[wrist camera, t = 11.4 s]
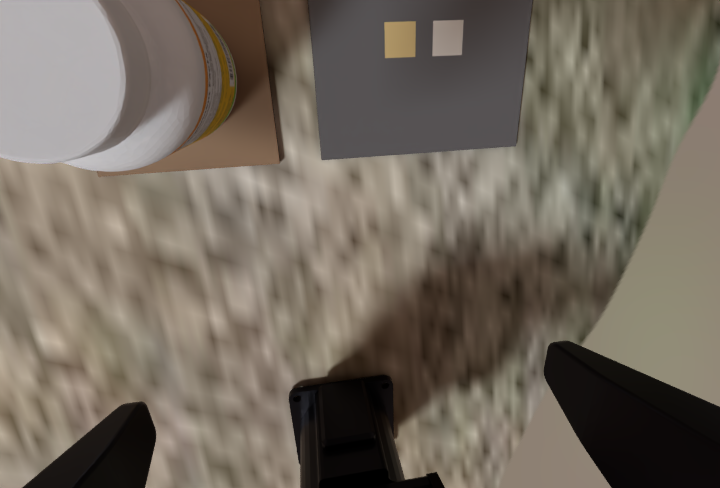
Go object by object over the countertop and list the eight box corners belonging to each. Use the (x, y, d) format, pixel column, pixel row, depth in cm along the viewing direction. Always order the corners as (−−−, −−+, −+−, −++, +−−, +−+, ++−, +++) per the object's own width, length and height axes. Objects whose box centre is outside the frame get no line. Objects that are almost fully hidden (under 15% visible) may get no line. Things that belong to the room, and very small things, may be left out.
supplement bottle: (81, 98, 15) (-219, 107, 6) (128, -33, 14) (-166, -249, 5) (207, 164, 17) (110, 243, 8) (261, 53, 16) (213, 5, 7)
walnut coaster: (280, 162, 18) (279, 163, 18) (101, 175, 17) (98, 176, 17) (254, -40, 15) (253, -43, 14) (33, -39, 14) (28, -42, 13)
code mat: (513, 145, 19) (515, 145, 19) (321, 159, 18) (321, 160, 18) (541, -101, 15) (544, -104, 15) (299, -104, 14) (299, -107, 14)
